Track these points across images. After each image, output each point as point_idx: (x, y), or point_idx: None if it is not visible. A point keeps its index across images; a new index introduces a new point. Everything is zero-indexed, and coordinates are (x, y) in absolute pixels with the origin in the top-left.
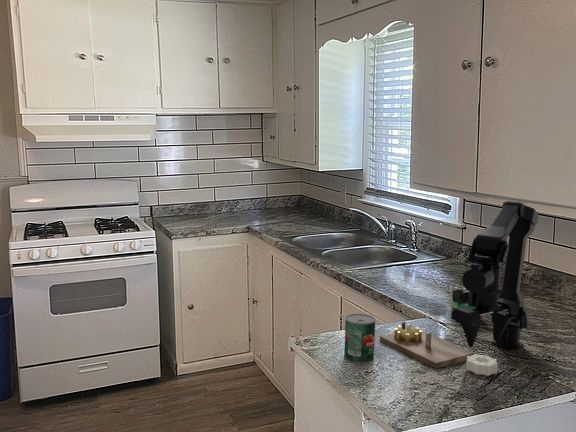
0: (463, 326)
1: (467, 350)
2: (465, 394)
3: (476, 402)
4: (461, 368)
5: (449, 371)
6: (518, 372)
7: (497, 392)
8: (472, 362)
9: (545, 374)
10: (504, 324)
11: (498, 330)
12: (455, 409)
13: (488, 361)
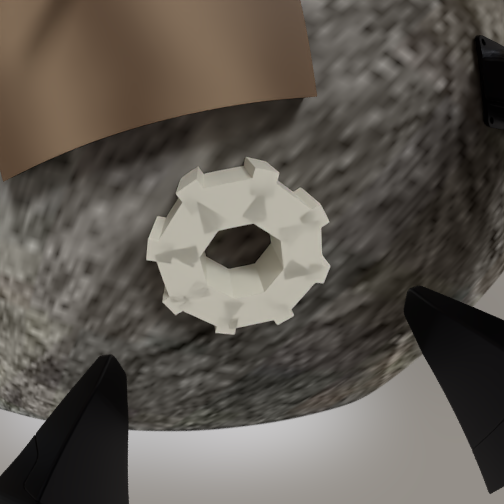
0: (3, 497)
1: (303, 47)
2: (67, 375)
3: None
4: (137, 198)
5: (63, 216)
6: (360, 300)
7: (167, 393)
8: (162, 275)
9: None
10: (470, 446)
11: (454, 374)
12: (34, 402)
13: (274, 275)
